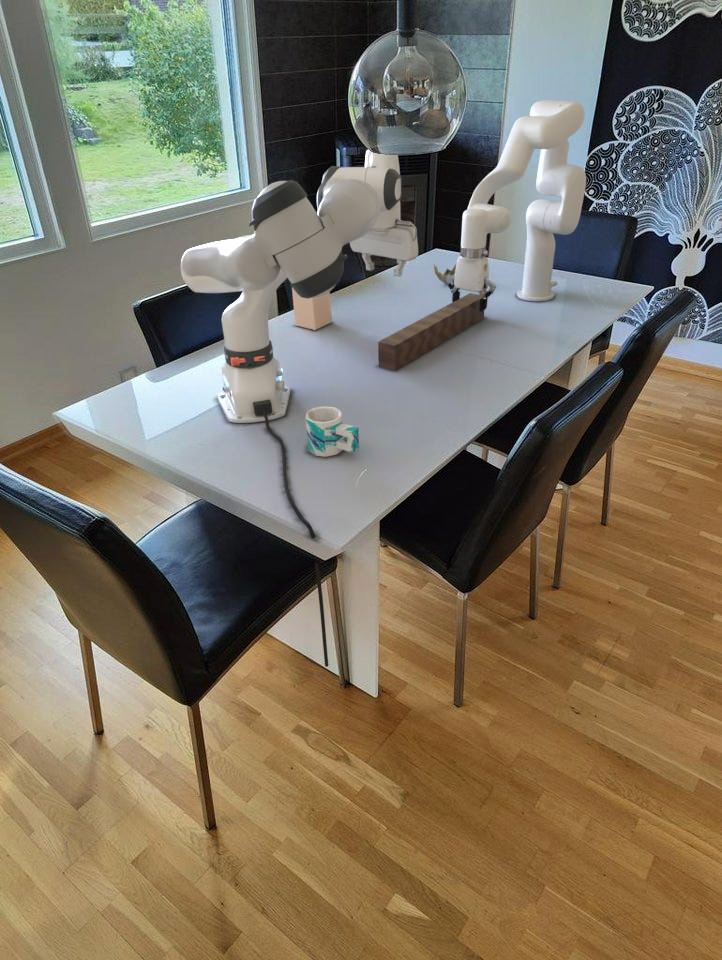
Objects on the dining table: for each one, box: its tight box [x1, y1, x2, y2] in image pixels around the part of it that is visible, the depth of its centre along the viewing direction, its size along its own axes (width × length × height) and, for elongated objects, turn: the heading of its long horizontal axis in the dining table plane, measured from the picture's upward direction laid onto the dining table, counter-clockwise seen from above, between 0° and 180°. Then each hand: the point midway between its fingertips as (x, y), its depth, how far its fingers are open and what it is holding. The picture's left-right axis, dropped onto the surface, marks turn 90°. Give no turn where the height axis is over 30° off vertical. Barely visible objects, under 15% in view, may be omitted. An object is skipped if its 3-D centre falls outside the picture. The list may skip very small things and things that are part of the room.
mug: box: [305, 405, 360, 458], centre depth 147 cm, size 8×12×8 cm
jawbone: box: [433, 262, 457, 286], centre depth 246 cm, size 9×15×10 cm
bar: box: [377, 292, 485, 371], centre depth 201 cm, size 50×6×7 cm, turn 142°
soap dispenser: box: [291, 287, 333, 331], centre depth 211 cm, size 13×9×22 cm
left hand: (384, 272), depth 176 cm, fingers open, 8 cm apart
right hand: (469, 307), depth 214 cm, fingers open, 9 cm apart
